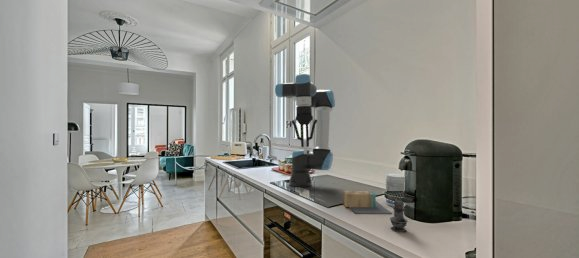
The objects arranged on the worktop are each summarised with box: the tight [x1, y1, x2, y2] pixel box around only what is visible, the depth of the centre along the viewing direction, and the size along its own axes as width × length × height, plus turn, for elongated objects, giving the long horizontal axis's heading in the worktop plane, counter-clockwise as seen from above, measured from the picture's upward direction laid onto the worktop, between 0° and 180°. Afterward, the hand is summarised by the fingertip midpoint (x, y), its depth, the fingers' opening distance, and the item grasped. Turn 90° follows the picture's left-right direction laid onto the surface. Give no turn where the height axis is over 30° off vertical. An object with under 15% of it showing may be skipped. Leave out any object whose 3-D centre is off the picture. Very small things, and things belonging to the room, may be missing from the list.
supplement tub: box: [385, 173, 405, 208], centre depth 118 cm, size 10×10×15 cm
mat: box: [349, 200, 393, 215], centre depth 116 cm, size 22×16×1 cm
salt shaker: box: [389, 197, 409, 234], centre depth 88 cm, size 6×6×12 cm
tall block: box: [342, 190, 377, 208], centre depth 116 cm, size 6×6×14 cm
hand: (305, 153), depth 121 cm, fingers closed
